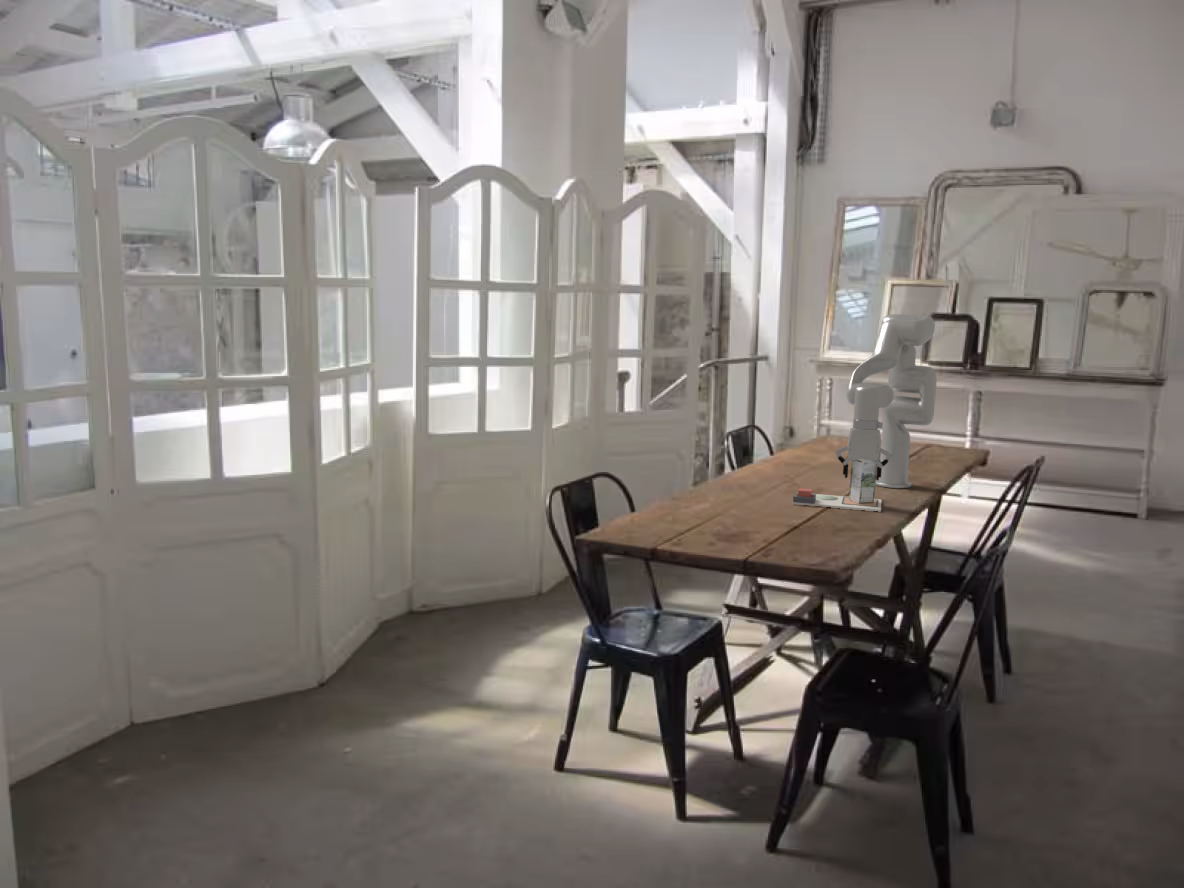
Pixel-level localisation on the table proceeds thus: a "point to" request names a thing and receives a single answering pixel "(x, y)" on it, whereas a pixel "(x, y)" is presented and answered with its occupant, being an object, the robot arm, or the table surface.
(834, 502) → the picture board
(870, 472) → the syrup box
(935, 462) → the table surface
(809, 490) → the button
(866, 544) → the table surface
